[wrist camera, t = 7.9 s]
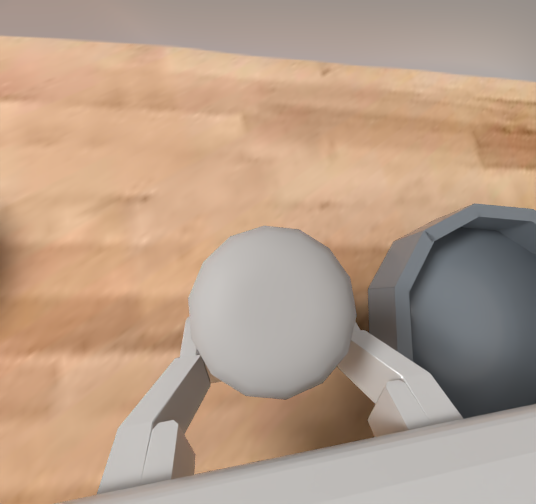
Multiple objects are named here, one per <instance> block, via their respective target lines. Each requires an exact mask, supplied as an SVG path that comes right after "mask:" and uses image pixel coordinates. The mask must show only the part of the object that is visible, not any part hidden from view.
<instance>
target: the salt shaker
mask: <svg viewBox="0 0 536 504" xmlns="http://www.w3.org/2000/svg"><path fill="white" fill-rule="evenodd" d="M188 301H189V315H190V328H191V339H192V341H193V342H194V344H195V346H196V348H197V350H198V351H199V353H200V355H201V357H202V359H203V360H204V362H205V364H206V366H207V368H208V369H209V371H210V373H211V374H212V375H213V376H215V377H216V378H218V379H220V380H221V381H223V382H224V383H226V384H228V385H229V386H231V387H232V388H234V389H236V390H237V391H239V392H240V393H242V394H244V395H245V396H252V397H263V398H274V399H285V400H286V399H289V398H291V397H293V396H295V395H297V394H300V393H302V392H304V391H306V390H308V389H311V388H313V387H315V386H317V385H319V384H321V383H323V382H324V381H325V380H326V378H327V377H328V376H329V375H330V374H331V372H332V371H333V370H334V369H335V368H336V366H337V365H338V364H339V363H340V362H341V360H342V359H343V358H344V357H345V356H346V354H347V353H348V350H349V346H350V342H351V337H352V333H353V329H354V324H355V320H356V316H357V314H356V308H355V303H354V297H353V291H352V286H351V280H350V277H349V276H348V274H347V273H346V271H345V270H344V269H343V267H342V266H341V264H340V263H339V261H338V260H337V259H336V257H335V256H334V254H333V253H332V252H331V250H330V249H329V248H328V247H326V246H325V245H323V244H321V243H320V242H318V241H317V240H315V239H313V238H312V237H310V236H309V235H307V234H305V233H304V232H302V231H301V230H299V229H289V228H280V227H271V226H262V227H259V228H256V229H252V230H249V231H246V232H243V233H240V234H237V235H233V236H230V237H229V238H228V239H227V240H226V241H225V242H224V243H223V244H222V245H221V246H220V247H219V248H218V249H216V250H215V251H214V252H213V253H212V254H211V255H210V256H209V257H208V258H207V259H206V260H205V261H204V262H203V264H202V266H201V269H200V271H199V274H198V276H197V278H196V281H195V283H194V286H193V288H192V290H191V293H190V295H189V298H188Z"/></svg>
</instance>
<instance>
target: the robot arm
mask: <svg viewBox="0 0 536 504" xmlns="http://www.w3.org/2000/svg"><path fill="white" fill-rule="evenodd" d="M337 367H338V368H339V369H340V370H341V371H342V372H343V373H344V374H345V375H346V376H347V377H348V378H349V379H350V380H351V381H352V382H353V383H354V384H355V385H356V386H357V387H358V388H359V389H361V390H362V391H363V392H364V393H365V394H366V395H367V396H368V397H369V398H370V399H371V400H372V401H373V402H374V403H375V406H374V408H373V410H372V412H371V414H370V416H369V418H368V422H369V425H370V427H371V429H372V432H373V434H374V436H375V437H373V438H368V439H363V440H358V441H354V442H349V443H344V444H339V445H334V446H330V447H325V448H320V449H315V450H310V451H305V452H301V453H296V454H291V455H286V456H281V457H277V458H272V459H267V460H262V461H257V462H252V463H248V464H243V465H238V466H233V467H228V468H224V469H219V470H214V471H209V472H204V473H199V474H195V475H194V469H195V453H194V451H193V449H192V448H191V446H190V444H189V442H188V440H187V439H186V437H185V435H184V434H185V432H186V430H187V428H188V426H189V425H190V423H191V421H192V419H193V417H194V415H195V413H196V412H197V410H198V408H199V406H200V404H201V402H202V400H203V398H204V397H205V395H206V393H207V391H208V389H209V387H210V384H211V383H216V382H221V380H220V379H218V378H216V377H215V376H213V375H212V374H211V373H210V371H209V369H208V368H207V366H206V364H205V362H204V360H203V359H202V357H201V355H200V353H199V351H198V350H197V348H196V346H195V344H194V342H193V341H192V339H191V328H190V317H188V318H187V320H186V323H185V329H184V335H183V341H182V346H181V352H180V358H175V359H174V360H173V362H172V363H171V364H170V365H169V367H168V368H167V369H166V370H165V371H164V373H163V374H162V375H161V376H160V378H159V379H158V380H157V381H156V382H155V384H154V385H153V386H152V387H151V389H150V390H149V391H148V392H147V393H146V395H145V396H144V397H143V398H142V400H141V401H140V402H139V403H138V404H137V406H136V407H135V408H134V409H133V411H132V412H131V413H130V414H129V415H128V417H127V418H126V419H125V420H124V422H123V423H122V424H121V425H120V427H119V428H118V430H117V433H116V436H115V439H114V443H113V446H112V449H111V452H110V455H109V458H108V461H107V464H106V467H105V471H104V474H103V477H102V480H101V483H100V486H99V489H98V492H97V495H93V496H89V497H84V498H79V499H74V500H69V501H64V502H60V503H55V504H536V404H532V405H527V406H522V407H517V408H513V409H508V410H503V411H498V412H493V413H489V414H484V415H479V416H474V417H469V418H464V419H463V417H462V416H461V415H460V413H459V412H458V410H457V409H456V408H455V406H454V405H453V404H452V402H451V401H450V400H449V398H448V397H447V396H446V394H445V393H444V391H443V390H442V389H441V387H440V386H439V385H438V383H437V382H436V381H435V379H434V378H433V376H432V375H431V374H430V373H429V372H428V371H426V370H425V369H423V368H421V367H420V366H418V365H417V364H415V363H414V362H412V361H411V360H409V359H408V358H406V357H405V356H403V355H402V354H400V353H399V352H397V351H396V350H394V349H393V348H391V347H390V346H388V345H387V344H385V343H384V342H382V341H380V340H379V339H377V338H376V337H374V336H373V335H371V334H370V333H368V332H367V331H365V330H360V328H359V327H358V325H357V323H356V322H355V324H354V329H353V333H352V337H351V342H350V346H349V350H348V353H347V354H346V356H345V357H344V358H343V359H342V360H341V362H340V363H339V364H338V365H337Z"/></svg>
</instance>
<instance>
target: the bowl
mask: <svg viewBox="0 0 536 504" xmlns="http://www.w3.org/2000/svg"><path fill="white" fill-rule="evenodd" d="M368 308H369V333H370V334H371V335H373V336H374V337H376V338H377V339H379V340H380V341H382V342H384V343H385V344H387V345H388V346H390V347H391V348H393V349H394V350H396V351H397V352H399V353H400V354H402V355H403V356H405V357H406V358H408V359H409V360H411V361H412V362H414V363H415V364H417V365H418V366H420V367H421V368H423V369H425V370H426V371H428V372H429V373H430V374H431V375H432V376H433V378H434V379H435V381H436V382H437V383H438V385H439V386H440V387H441V389H442V390H443V391H444V393H445V394H446V396H447V397H448V398H449V400H450V401H451V402H452V404H453V405H454V406H455V408H456V409H457V410H458V412H459V413H460V415H461V416H462V417H463V419H464V418H469V417H474V416H479V415H484V414H489V413H493V412H498V411H503V410H508V409H513V408H517V407H522V406H527V405H532V404H536V211H535V210H534V209H526V208H516V207H505V206H495V205H484V204H472V205H470V206H467V207H465V208H462V209H460V210H457V211H455V212H452V213H450V214H448V215H445V216H443V217H440V218H438V219H436V220H434V221H432V222H430V223H428V224H426V225H424V226H422V227H420V228H418V229H417V230H415V231H413V232H411V233H409V234H407V235H405V236H403V237H401V238H399V239H398V240H396V241H394V242H393V244H392V246H391V247H390V249H389V251H388V253H387V255H386V257H385V258H384V260H383V262H382V264H381V266H380V268H379V270H378V271H377V273H376V275H375V277H374V279H373V281H372V283H371V284H370V286H369V288H368Z"/></svg>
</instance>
